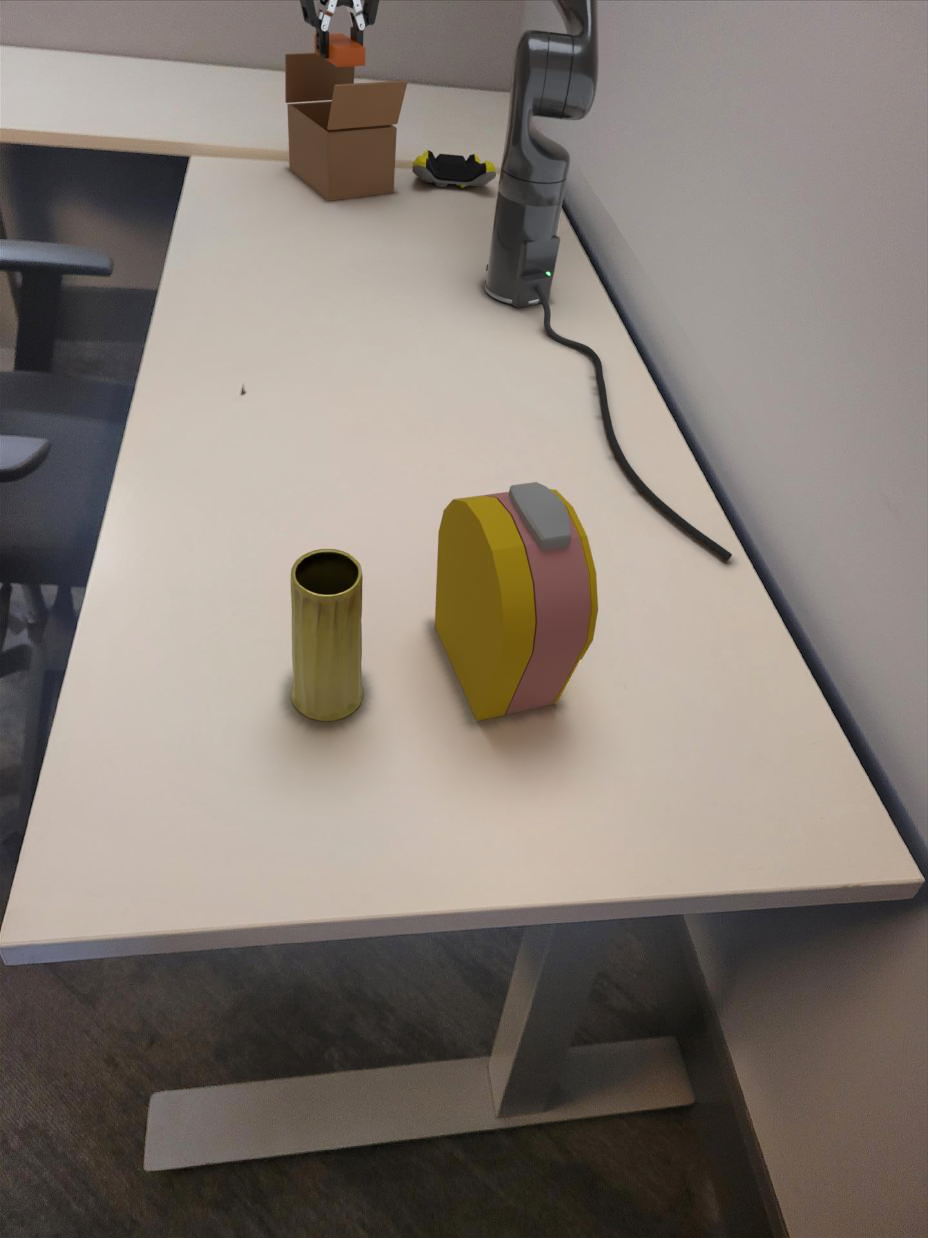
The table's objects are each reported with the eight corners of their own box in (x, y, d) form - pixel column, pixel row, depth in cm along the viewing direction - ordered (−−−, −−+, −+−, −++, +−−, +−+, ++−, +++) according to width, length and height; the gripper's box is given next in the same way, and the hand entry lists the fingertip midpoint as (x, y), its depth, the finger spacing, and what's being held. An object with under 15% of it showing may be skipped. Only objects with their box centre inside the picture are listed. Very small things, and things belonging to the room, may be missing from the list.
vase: (362, 665, 75) (366, 544, 65) (365, 721, 71) (370, 601, 61) (291, 667, 74) (285, 543, 64) (290, 723, 70) (283, 601, 60)
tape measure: (572, 717, 74) (624, 561, 60) (483, 737, 71) (518, 579, 58) (508, 598, 83) (542, 440, 70) (428, 612, 80) (448, 451, 67)
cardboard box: (393, 192, 151) (399, 77, 138) (327, 200, 145) (327, 81, 132) (351, 160, 159) (353, 49, 147) (287, 167, 154) (283, 52, 141)
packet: (365, 65, 136) (365, 47, 134) (337, 66, 134) (337, 48, 132) (341, 50, 140) (341, 32, 139) (314, 51, 138) (314, 33, 136)
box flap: (396, 122, 143) (397, 124, 143) (327, 128, 137) (328, 129, 137) (406, 80, 137) (407, 81, 137) (334, 84, 131) (335, 85, 131)
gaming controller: (494, 198, 155) (487, 177, 161) (498, 165, 151) (491, 145, 157) (412, 191, 152) (408, 171, 159) (414, 158, 148) (410, 138, 155)
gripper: (370, -83, 130) (367, 48, 142) (284, -86, 124) (288, 51, 136) (395, -72, 126) (390, 61, 138) (307, -75, 120) (309, 65, 132)
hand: (339, 55), depth 137 cm, fingers closed on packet, 5 cm apart
